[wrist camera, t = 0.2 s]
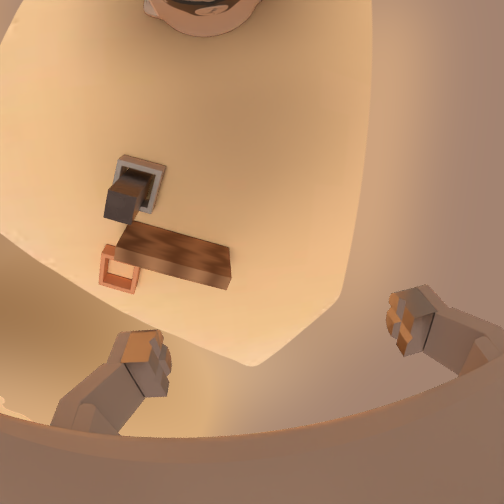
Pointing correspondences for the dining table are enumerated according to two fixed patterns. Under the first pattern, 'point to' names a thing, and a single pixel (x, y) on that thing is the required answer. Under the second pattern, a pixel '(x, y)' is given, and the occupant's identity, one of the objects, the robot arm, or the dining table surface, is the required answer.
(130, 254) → the door panel
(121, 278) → the frame
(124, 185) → the bar
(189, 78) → the dining table surface
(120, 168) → the frame
